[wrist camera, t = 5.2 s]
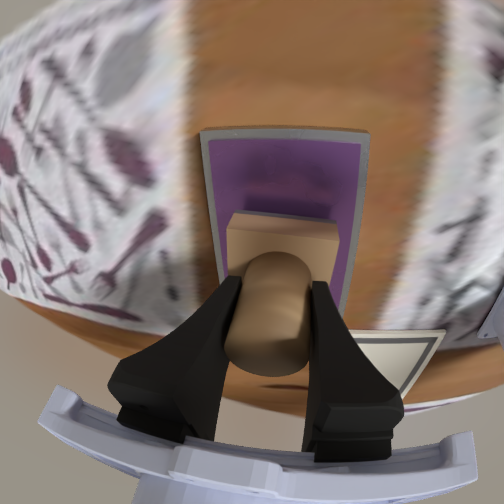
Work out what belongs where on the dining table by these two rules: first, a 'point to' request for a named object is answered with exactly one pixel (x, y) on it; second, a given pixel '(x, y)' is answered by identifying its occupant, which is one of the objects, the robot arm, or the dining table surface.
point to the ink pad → (288, 183)
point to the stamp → (276, 287)
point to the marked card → (399, 353)
